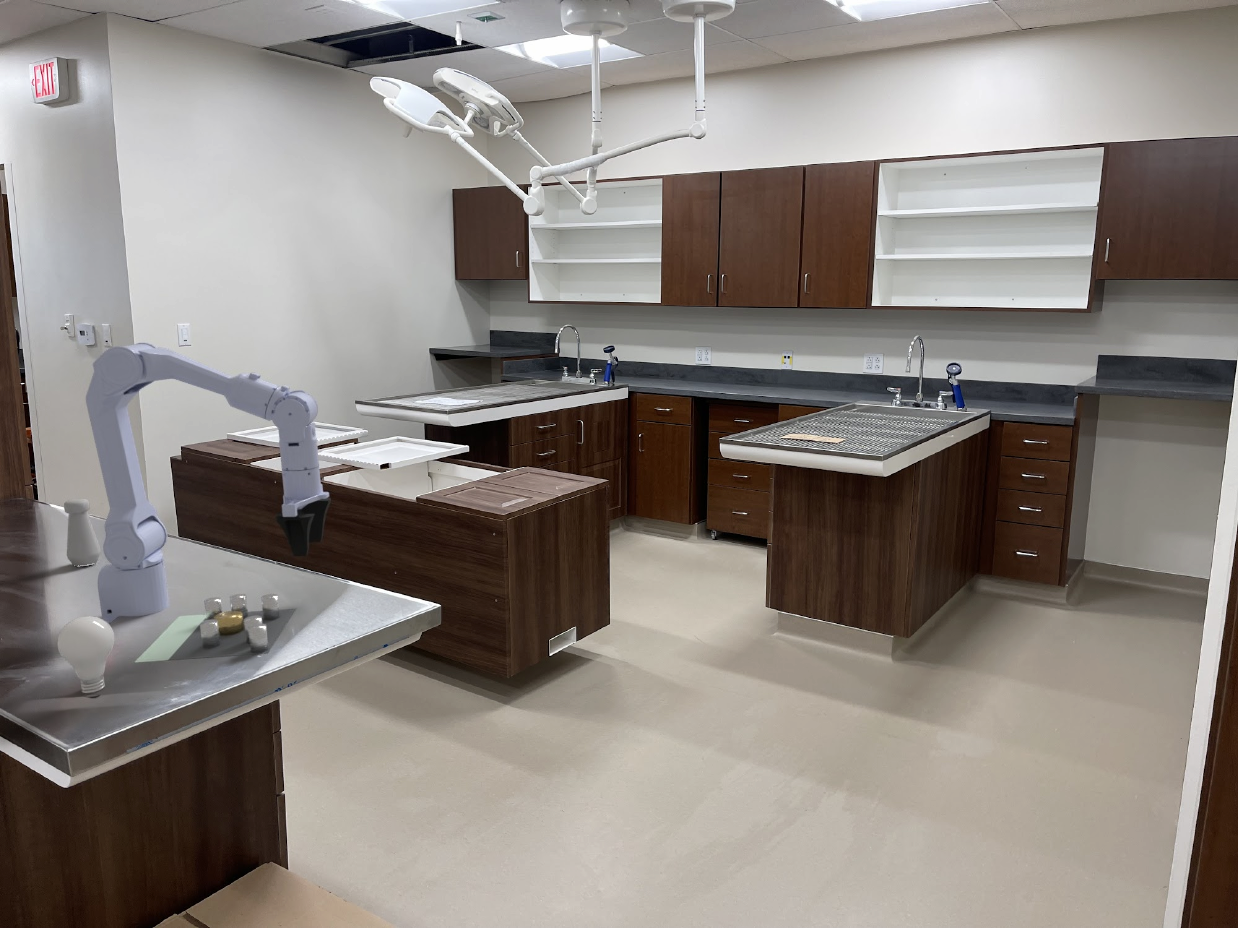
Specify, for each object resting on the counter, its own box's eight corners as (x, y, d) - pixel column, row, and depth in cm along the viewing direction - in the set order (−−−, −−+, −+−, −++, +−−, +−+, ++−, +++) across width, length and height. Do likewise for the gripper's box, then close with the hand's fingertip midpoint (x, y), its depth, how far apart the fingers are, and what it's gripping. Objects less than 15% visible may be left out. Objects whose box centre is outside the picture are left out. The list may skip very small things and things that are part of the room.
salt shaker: (108, 562, 177) (99, 498, 174) (78, 570, 172) (68, 504, 170) (92, 558, 180) (83, 495, 177) (62, 566, 175) (52, 501, 173)
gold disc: (212, 636, 135) (210, 621, 134) (220, 626, 138) (218, 611, 138) (239, 634, 135) (238, 619, 134) (247, 624, 139) (245, 609, 138)
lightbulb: (81, 687, 121) (69, 610, 119) (130, 685, 121) (119, 607, 119) (56, 709, 115) (43, 628, 112) (108, 706, 115) (96, 625, 113)
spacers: (174, 658, 127) (171, 635, 126) (211, 616, 143) (209, 595, 142) (266, 652, 128) (263, 629, 127) (292, 611, 144) (290, 590, 143)
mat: (135, 670, 126) (134, 662, 126) (180, 623, 144) (179, 616, 143) (268, 660, 128) (267, 652, 128) (297, 615, 146) (296, 608, 145)
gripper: (311, 476, 138) (319, 561, 141) (338, 458, 152) (344, 535, 155) (265, 477, 138) (273, 562, 141) (296, 459, 152) (303, 536, 155)
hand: (308, 548), depth 148 cm, fingers open, 7 cm apart
